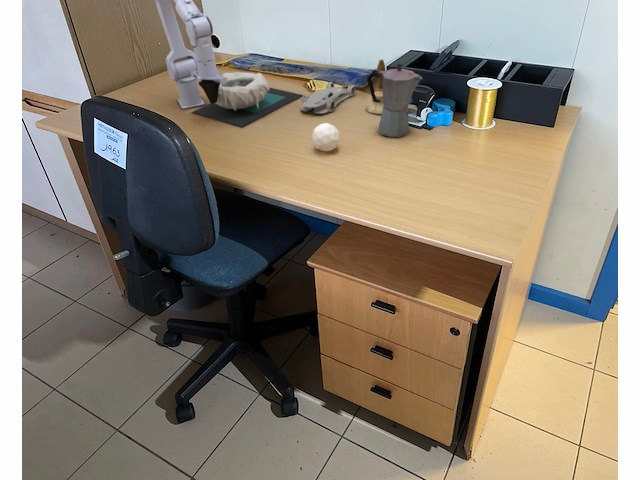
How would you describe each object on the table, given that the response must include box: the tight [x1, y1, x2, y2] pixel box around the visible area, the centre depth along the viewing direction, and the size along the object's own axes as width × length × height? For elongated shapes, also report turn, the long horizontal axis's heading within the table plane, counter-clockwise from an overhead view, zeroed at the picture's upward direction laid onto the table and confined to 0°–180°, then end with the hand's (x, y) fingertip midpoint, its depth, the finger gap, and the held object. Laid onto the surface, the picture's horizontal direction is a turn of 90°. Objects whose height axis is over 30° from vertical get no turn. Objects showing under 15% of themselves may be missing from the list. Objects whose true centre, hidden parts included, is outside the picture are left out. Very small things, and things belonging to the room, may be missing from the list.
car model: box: [300, 81, 356, 115], centre depth 163 cm, size 11×24×5 cm, turn 148°
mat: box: [191, 87, 304, 128], centre depth 168 cm, size 31×24×1 cm
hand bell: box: [366, 59, 386, 115], centre depth 153 cm, size 8×8×16 cm
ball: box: [311, 122, 341, 152], centre depth 135 cm, size 8×8×8 cm
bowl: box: [214, 71, 271, 111], centre depth 163 cm, size 21×20×10 cm
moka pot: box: [366, 63, 423, 138], centre depth 138 cm, size 10×15×20 cm, turn 78°
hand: (213, 102), depth 155 cm, fingers closed
